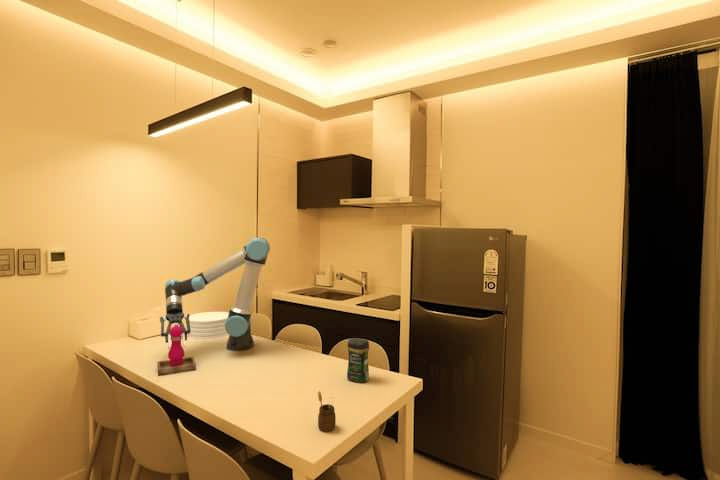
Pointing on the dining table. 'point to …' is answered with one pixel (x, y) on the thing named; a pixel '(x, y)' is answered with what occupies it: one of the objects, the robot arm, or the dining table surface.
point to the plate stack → (208, 325)
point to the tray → (176, 367)
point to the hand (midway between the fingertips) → (176, 346)
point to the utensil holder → (326, 416)
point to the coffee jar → (358, 360)
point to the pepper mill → (176, 346)
